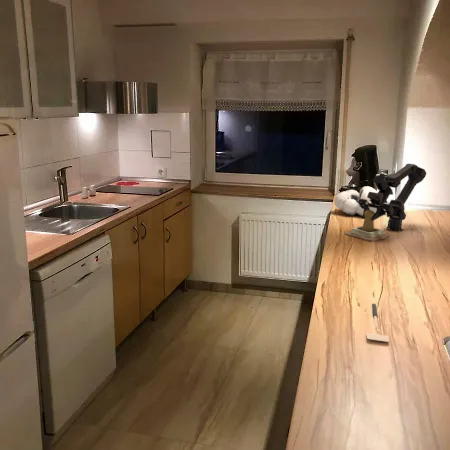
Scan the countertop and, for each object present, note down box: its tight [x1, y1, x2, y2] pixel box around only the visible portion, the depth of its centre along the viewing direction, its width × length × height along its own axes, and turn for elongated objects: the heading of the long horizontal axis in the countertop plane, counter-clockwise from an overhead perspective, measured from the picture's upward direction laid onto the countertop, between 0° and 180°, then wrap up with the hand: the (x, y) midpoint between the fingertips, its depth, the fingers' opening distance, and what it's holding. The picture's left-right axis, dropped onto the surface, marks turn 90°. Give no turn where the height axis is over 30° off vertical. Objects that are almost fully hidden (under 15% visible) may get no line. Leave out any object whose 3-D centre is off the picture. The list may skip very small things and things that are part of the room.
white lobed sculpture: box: [334, 185, 378, 217], centre depth 303 cm, size 20×25×22 cm
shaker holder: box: [344, 225, 390, 242], centre depth 258 cm, size 16×16×3 cm
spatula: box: [365, 303, 390, 343], centre depth 157 cm, size 6×29×2 cm, turn 166°
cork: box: [362, 210, 375, 232], centre depth 256 cm, size 6×6×11 cm
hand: (367, 219), depth 255 cm, fingers closed on cork, 5 cm apart
